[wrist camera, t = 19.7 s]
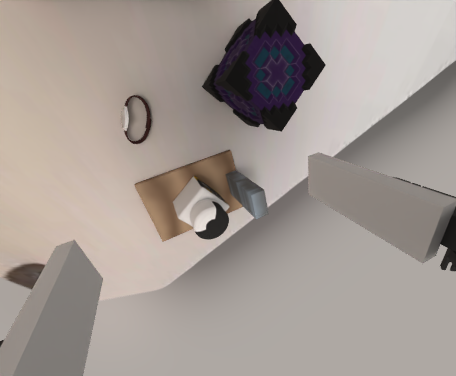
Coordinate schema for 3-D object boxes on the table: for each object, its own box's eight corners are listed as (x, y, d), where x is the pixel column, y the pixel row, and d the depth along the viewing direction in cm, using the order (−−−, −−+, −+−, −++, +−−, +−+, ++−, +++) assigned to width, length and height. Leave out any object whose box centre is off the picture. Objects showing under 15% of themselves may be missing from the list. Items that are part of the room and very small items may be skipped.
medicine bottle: (218, 192, 45) (241, 218, 35) (198, 217, 46) (215, 250, 35) (193, 174, 42) (210, 198, 32) (171, 202, 42) (182, 233, 32)
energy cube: (237, 27, 36) (276, -4, 26) (280, 74, 42) (325, 64, 32) (201, 86, 38) (225, 80, 27) (248, 125, 44) (281, 131, 33)
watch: (121, 92, 34) (119, 91, 31) (152, 98, 36) (153, 98, 32) (120, 140, 36) (119, 143, 33) (149, 143, 38) (150, 147, 35)
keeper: (162, 239, 46) (169, 283, 34) (134, 183, 39) (132, 215, 28) (242, 204, 50) (271, 232, 39) (229, 149, 44) (259, 165, 33)
